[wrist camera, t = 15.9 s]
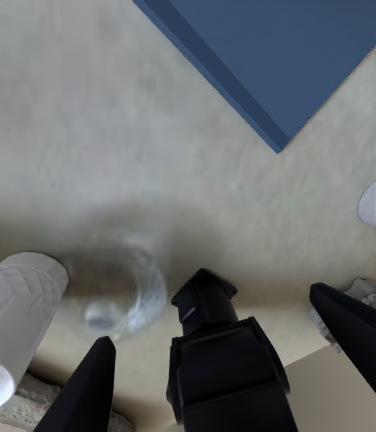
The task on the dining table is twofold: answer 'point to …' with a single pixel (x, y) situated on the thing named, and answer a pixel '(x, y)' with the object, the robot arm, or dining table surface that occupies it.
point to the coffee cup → (368, 206)
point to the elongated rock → (43, 406)
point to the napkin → (270, 52)
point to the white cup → (25, 312)
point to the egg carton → (359, 290)
